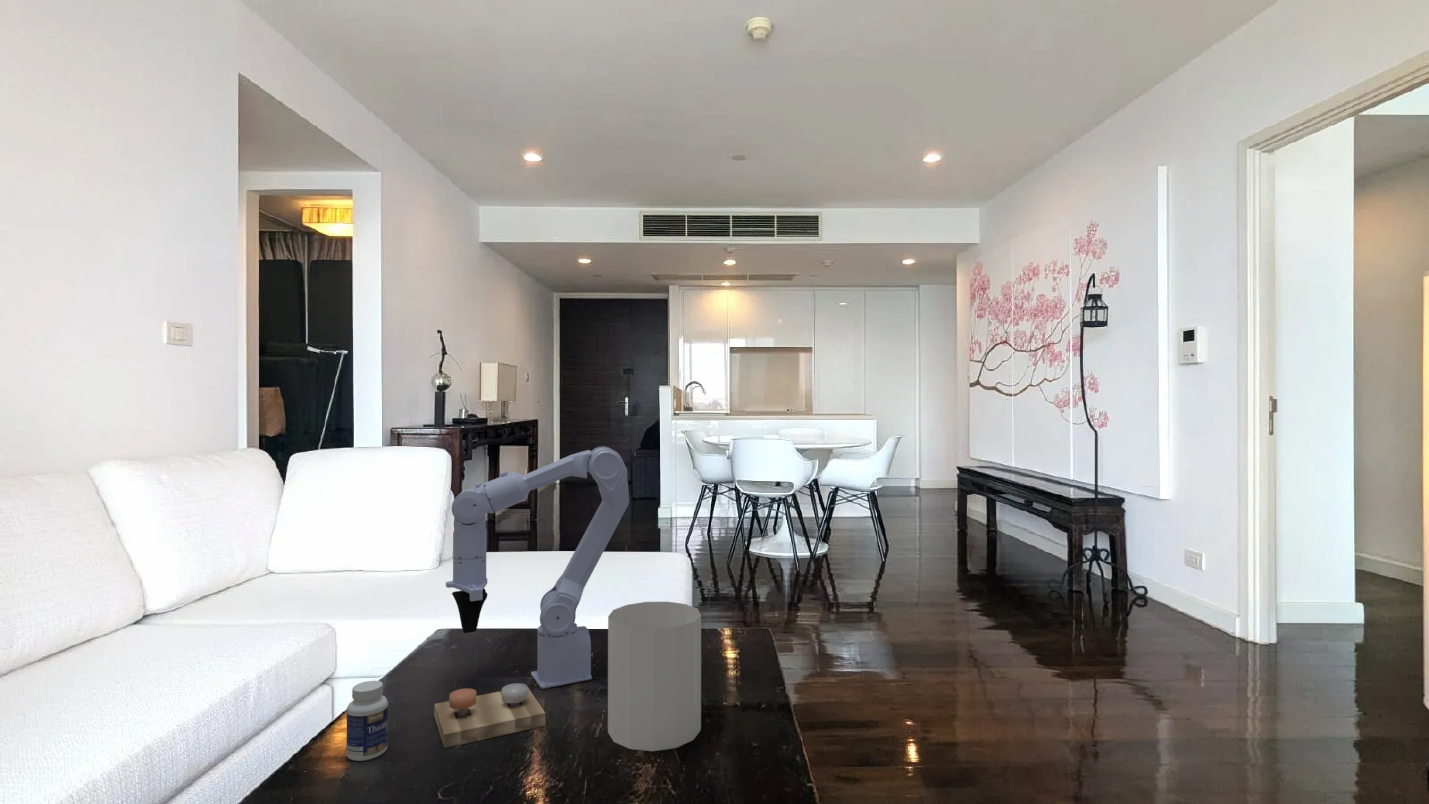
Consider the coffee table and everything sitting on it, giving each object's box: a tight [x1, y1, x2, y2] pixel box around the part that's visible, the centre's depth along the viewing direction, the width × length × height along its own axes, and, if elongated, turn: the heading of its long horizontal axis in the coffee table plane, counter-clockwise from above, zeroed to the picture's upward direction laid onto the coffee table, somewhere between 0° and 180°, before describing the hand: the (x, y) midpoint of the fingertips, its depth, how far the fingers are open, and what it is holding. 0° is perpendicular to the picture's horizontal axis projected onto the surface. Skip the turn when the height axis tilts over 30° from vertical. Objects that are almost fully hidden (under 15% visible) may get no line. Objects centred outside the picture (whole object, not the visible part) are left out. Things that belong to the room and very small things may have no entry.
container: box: [607, 601, 702, 752], centre depth 108 cm, size 14×14×18 cm
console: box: [433, 686, 546, 749], centre depth 110 cm, size 15×12×2 cm
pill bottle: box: [345, 680, 389, 762], centre depth 100 cm, size 5×5×10 cm
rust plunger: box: [448, 687, 477, 718], centre depth 108 cm, size 4×4×4 cm
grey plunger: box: [501, 682, 528, 707], centre depth 112 cm, size 4×4×4 cm
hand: (469, 631), depth 124 cm, fingers closed
